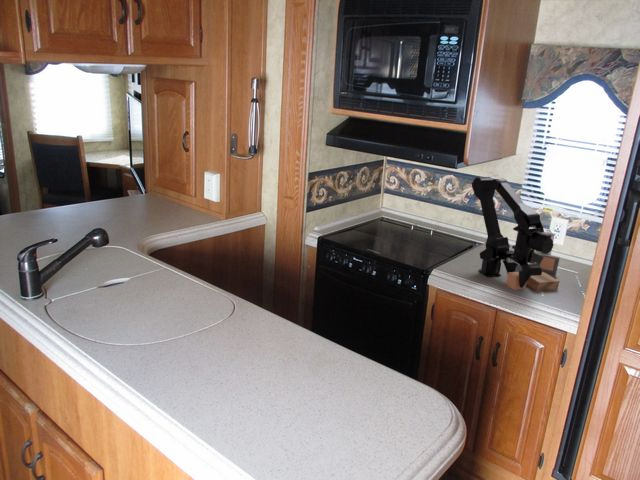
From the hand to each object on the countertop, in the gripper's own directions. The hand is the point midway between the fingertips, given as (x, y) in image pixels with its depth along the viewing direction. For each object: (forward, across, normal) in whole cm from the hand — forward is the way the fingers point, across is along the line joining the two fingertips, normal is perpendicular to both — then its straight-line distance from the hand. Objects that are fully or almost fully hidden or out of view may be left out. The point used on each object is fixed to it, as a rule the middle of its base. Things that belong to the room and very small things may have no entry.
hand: (516, 283), depth 208 cm
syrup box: (+1, +21, -27) cm, 34 cm away
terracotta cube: (+1, 0, 0) cm, 1 cm away
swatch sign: (+1, +9, -20) cm, 22 cm away
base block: (+1, -1, -10) cm, 10 cm away
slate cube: (+1, +10, -10) cm, 14 cm away
